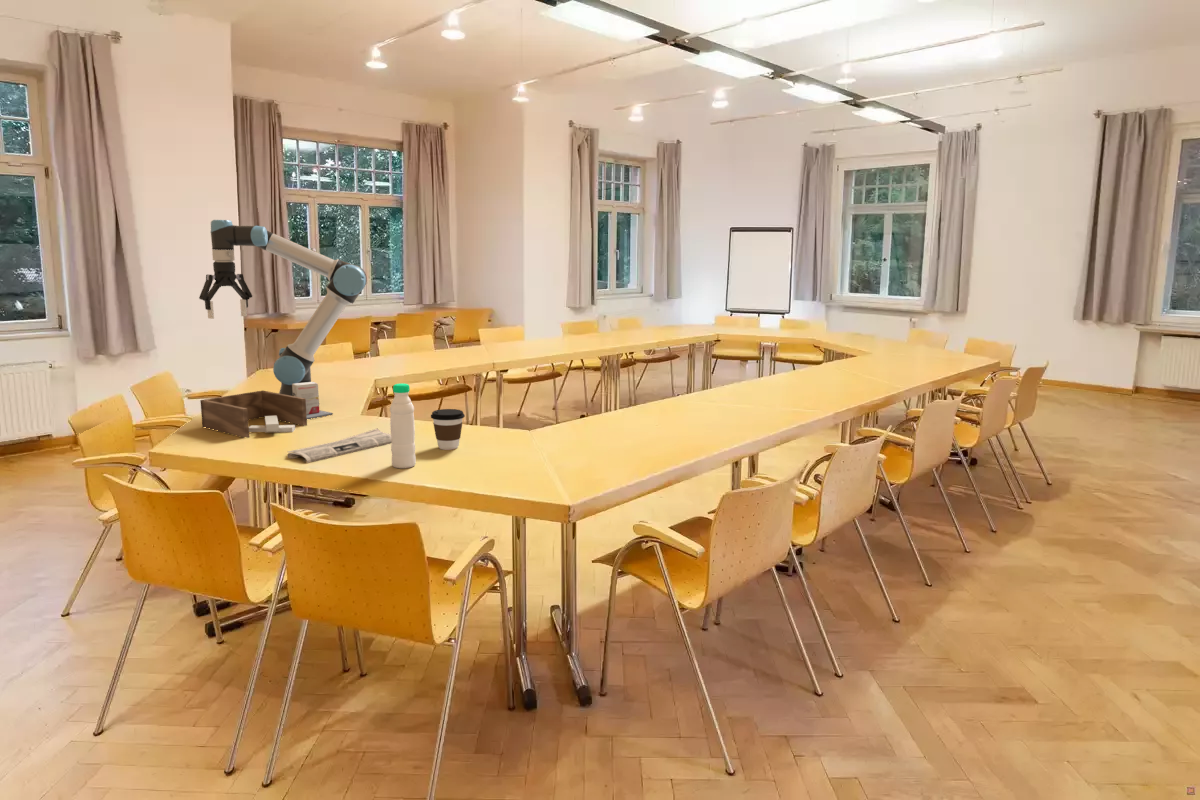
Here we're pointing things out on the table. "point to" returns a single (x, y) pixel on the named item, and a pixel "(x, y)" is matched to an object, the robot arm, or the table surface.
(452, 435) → the coffee cup
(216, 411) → the walnut open-sided box
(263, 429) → the lower offcut
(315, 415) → the grey mat
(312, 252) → the robot arm
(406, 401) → the water bottle
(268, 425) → the upper offcut
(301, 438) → the table surface
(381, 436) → the newspaper
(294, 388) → the ink box
